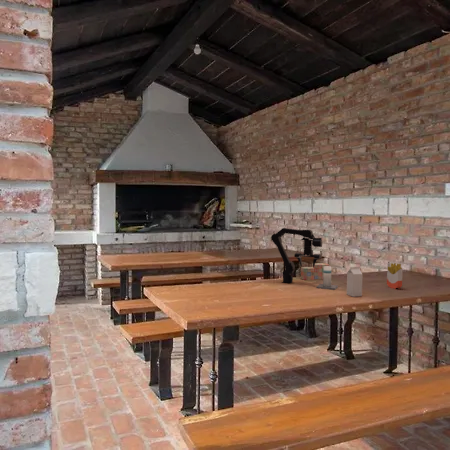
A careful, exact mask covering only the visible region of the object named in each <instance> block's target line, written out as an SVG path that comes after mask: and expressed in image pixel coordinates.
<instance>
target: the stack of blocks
mask: <svg viewBox="0 0 450 450" xmlns="http://www.w3.org/2000/svg"><path fill="white" fill-rule="evenodd" d="M324 266H330V264H329V263H322V262H321V263H317V262H316V263H315V266H314V268H313V262H312V264H311V266H302V267H301V266H300V268H301V269H300V279H302V280H303V281H306V280H307V281H308V280H309V281H312V280H313V281H315V280H314V279H323V269H324Z"/></svg>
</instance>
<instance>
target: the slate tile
mask: <svg viewBox="0 0 450 450" xmlns="http://www.w3.org/2000/svg"><path fill="white" fill-rule="evenodd" d="M338 286H339V285H336V284H331V286H330V287H326V286H323V283H319V284H318V285H317V286H316V289H320V288H321V289H322V290H329V291H330V290H332V291H335V290H336V289H337V288H338Z"/></svg>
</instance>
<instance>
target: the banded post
mask: <svg viewBox="0 0 450 450" xmlns="http://www.w3.org/2000/svg"><path fill="white" fill-rule="evenodd" d="M332 269H333V268H332V266H330V265H329V266H324V269H323V280H322V281H323V282H322V284H323V286H326V287H330V286H331V285H332Z"/></svg>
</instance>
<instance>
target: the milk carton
mask: <svg viewBox="0 0 450 450" xmlns="http://www.w3.org/2000/svg"><path fill="white" fill-rule="evenodd" d="M346 295H347V296H350V297H353V298H354V297H362V296H363V272H362V270H361V267H360V266H354V267H353V266H350V267H349V269H348V271H347V272H346Z"/></svg>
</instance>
